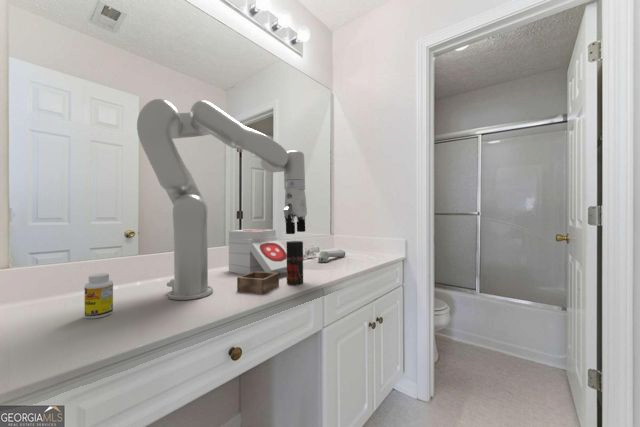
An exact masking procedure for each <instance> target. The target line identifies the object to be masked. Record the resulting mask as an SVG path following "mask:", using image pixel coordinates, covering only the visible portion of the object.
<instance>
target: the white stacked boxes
mask: <svg viewBox="0 0 640 427" xmlns="http://www.w3.org/2000/svg"><path fill="white" fill-rule="evenodd" d="M276 232H277V230H276V229H262V228H261V229H257V228H255V229H251V228H248V229H247V228H246V229H238V230H229V231H228V272H230V273H235V274H239V275H246V274H248V273H251V272H254V271H256V272H270V273H279V274H281V273H285V272H286V273H287V248H286V247H285V246H284V245H283V244H282V242H281V241H280V240H277V236H276V235H277V234H276Z"/></svg>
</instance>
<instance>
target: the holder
mask: <svg viewBox="0 0 640 427" xmlns="http://www.w3.org/2000/svg"><path fill="white" fill-rule="evenodd" d="M279 275H280V273H270V272H256V271H254V272H251V273H248V274H246V275H244V274H242V275H241V276H237V277H236V281H237V282H236V283H237V284H236V287H237V288H236V289H237V290H236V292H240V293H249V294H250V293H251V294H259V293H262V295H265V294H267V293H269V292H271V291H273V290H275V288H278V287H280V276H279ZM270 290H271V291H270Z"/></svg>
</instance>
